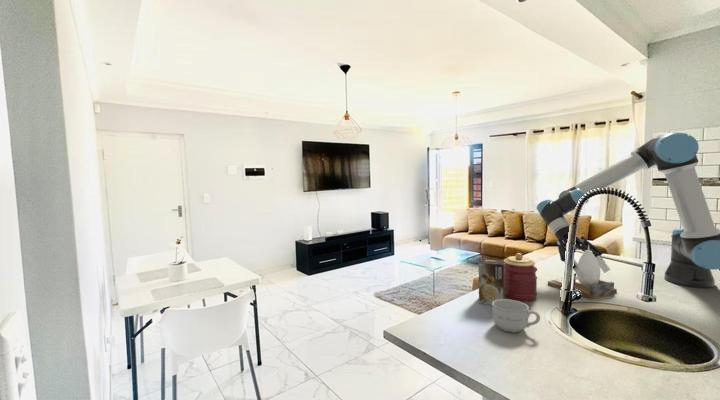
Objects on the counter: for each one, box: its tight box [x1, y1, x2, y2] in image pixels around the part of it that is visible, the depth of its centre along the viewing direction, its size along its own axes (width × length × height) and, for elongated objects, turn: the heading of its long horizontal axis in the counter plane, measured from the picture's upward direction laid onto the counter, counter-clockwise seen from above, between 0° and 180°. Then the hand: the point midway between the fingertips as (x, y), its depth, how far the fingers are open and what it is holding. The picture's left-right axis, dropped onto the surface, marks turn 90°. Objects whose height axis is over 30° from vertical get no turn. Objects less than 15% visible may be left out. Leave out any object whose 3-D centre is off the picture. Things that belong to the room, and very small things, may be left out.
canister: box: [503, 252, 538, 303], centre depth 129 cm, size 13×13×18 cm
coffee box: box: [478, 258, 505, 306], centre depth 124 cm, size 9×6×16 cm
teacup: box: [491, 298, 541, 333], centre depth 102 cm, size 14×11×8 cm
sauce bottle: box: [576, 245, 601, 286], centre depth 131 cm, size 8×8×18 cm
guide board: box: [547, 276, 618, 300], centre depth 135 cm, size 16×18×4 cm
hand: (594, 273), depth 129 cm, fingers open, 13 cm apart
